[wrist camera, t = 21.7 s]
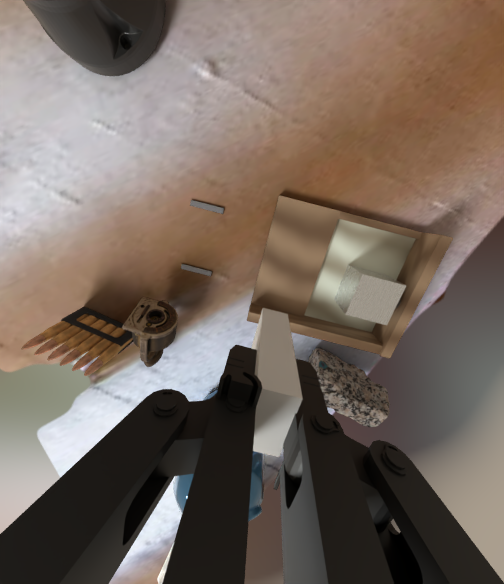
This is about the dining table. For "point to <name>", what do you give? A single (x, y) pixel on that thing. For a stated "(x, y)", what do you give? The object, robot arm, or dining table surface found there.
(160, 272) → the dining table surface
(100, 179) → the dining table surface
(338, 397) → the rock
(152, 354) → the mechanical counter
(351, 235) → the wooden shallow box
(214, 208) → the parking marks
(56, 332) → the ammunition clip
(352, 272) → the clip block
